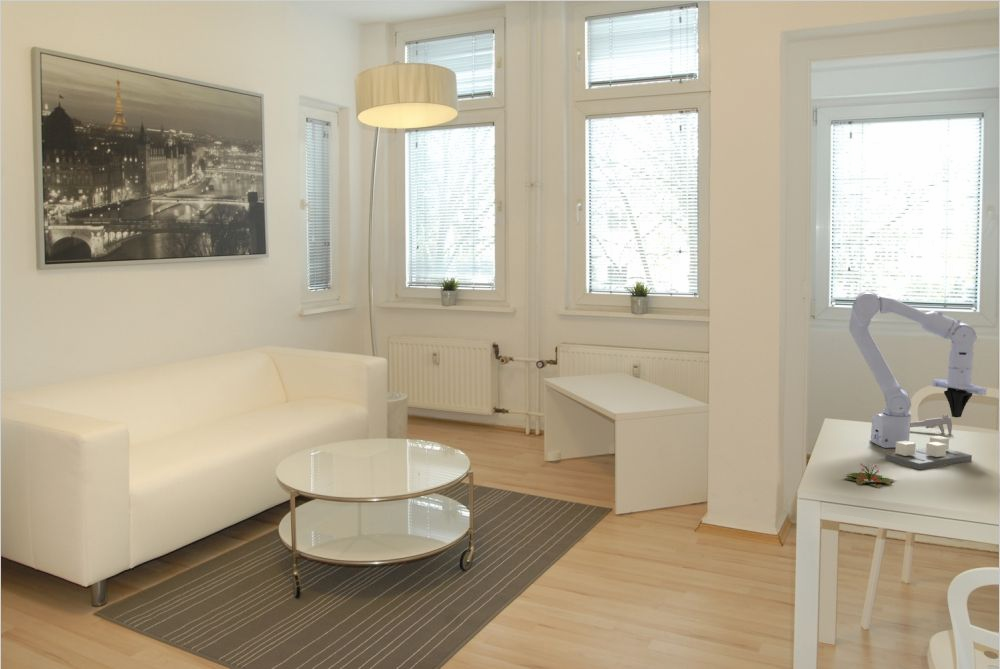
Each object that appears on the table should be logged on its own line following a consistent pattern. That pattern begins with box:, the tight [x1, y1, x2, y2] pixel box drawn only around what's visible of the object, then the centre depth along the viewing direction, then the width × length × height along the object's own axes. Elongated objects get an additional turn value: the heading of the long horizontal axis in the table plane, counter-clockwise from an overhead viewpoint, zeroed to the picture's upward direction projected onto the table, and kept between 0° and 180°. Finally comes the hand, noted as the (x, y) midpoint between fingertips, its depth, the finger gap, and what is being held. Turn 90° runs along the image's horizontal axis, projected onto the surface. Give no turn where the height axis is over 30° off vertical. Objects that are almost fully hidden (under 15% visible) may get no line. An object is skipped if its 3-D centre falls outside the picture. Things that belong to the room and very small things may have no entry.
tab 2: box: [925, 441, 947, 457], centre depth 217 cm, size 4×3×3 cm
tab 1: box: [929, 435, 950, 449], centre depth 223 cm, size 4×3×3 cm
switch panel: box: [885, 447, 973, 470], centre depth 219 cm, size 20×10×2 cm, turn 115°
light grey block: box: [894, 440, 916, 456], centre depth 218 cm, size 4×3×3 cm
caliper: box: [910, 413, 953, 435], centre depth 251 cm, size 20×1×6 cm, turn 72°
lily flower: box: [844, 462, 896, 489], centre depth 201 cm, size 12×12×5 cm
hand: (956, 416), depth 228 cm, fingers closed
